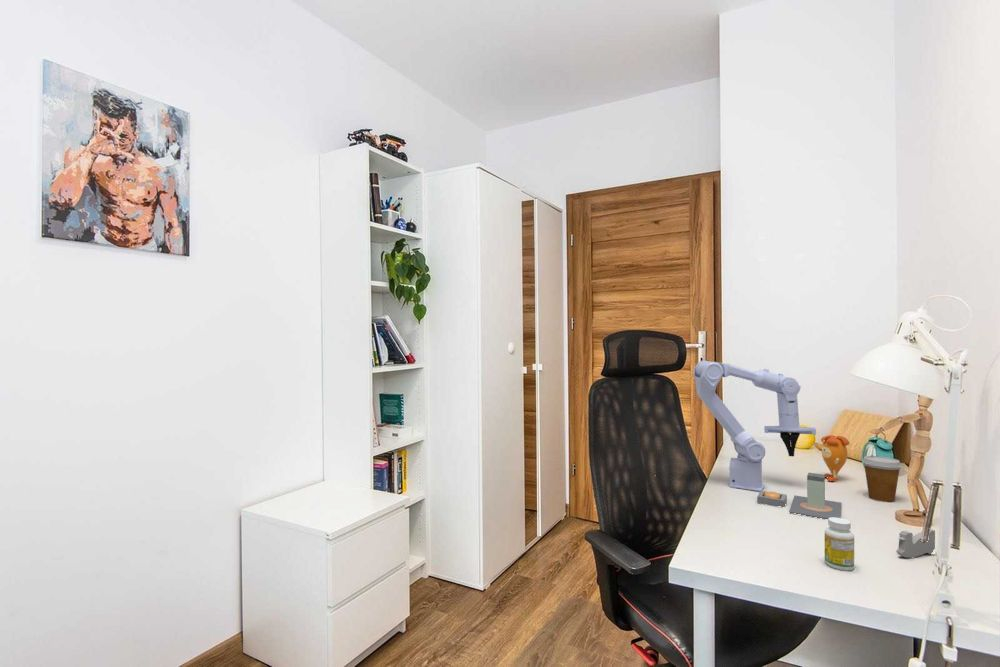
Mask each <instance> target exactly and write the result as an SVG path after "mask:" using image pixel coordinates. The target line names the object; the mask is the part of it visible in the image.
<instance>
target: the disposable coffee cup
mask: <svg viewBox="0 0 1000 667" xmlns="http://www.w3.org/2000/svg"><path fill="white" fill-rule="evenodd" d="M862 463H863V466H864V472H865V478H866V479H865V480H866V485H867V491H868V492H867V493H868V498H870V499H872V500H876V501H879V502H886V503H893V502H895V501H896V494H897V487H898V482H899V477H900V476H899V474H900V471H901V470H900V469H901V468H902V464H901V462H900V460H899V459H896V458H892V457H886V456H879V455H878V456H877V455H866V456H864V457H863V460H862Z"/></svg>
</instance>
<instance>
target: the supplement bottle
mask: <svg viewBox="0 0 1000 667" xmlns="http://www.w3.org/2000/svg"><path fill="white" fill-rule="evenodd" d="M827 525H828V526H827V527H826V528H825V529H824V562H825V564H826V565H827V566H829V567H831V568H833V569H835V570H840V571H853V569H855V535H854V533H853V532H852V531H851V521H849V520H848V519H845V518H842V517H841V518H836V517H830V518H828V520H827Z"/></svg>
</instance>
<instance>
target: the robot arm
mask: <svg viewBox="0 0 1000 667" xmlns="http://www.w3.org/2000/svg"><path fill="white" fill-rule="evenodd" d="M692 374H693V375H692V376H693V377H694V382H695V390H696V394H697V396H698V397H699V399H700V400H701V401H702V403H703V405H705V407H706V408H707V409H708V410H709V412H710V413H711V414H712V415H713V416H714V418H715V419H716V420H717V422H718V423H719V425H720V426H721V427H722V428H723V430H725V432H726V433H727V434H728V435H729V437H730V441H731V442H732V443H733V448H734V450H735V452H736V453H737V457H731V458H730V460H729V485H728V486H729V487H731V488H737V489H744V490H748V491H754V492H755V491H756V492H760V491H763V489H764V488H765V487H766V486H765V484H763V474H762V473H763V472H762V471H763V466H762V465H763V462H762V460H763V459H764V457H765V456H766V448H765V446H764V445H763V443H761V442H760V441H757V440H756V439H755V438H754V437H753V436H752V435H750V433H749V432H747V430H746V429H745V428H744V427H743V426H742V424H741V423H740V422H739V420H737V418H736V416H734V414H733V413H732V412H731V410H729V408H728V407H727V405H726V404H725V403H724V402H723V401H722V399H721V398H720V397H719V395H718V394H717V393H716V392H717V391H716V389H717V386H718V384H719V382H720V381H721V379H722V378H727V377H729V376H731V377H735V378H739V379H743V380H747V381H751V382H752V384H753V386H754V387H757V388H760V389H764V390H767V391H771V392H775V393H776V398H777V401H776V402H777V410H778V412H777V413H778V423H779V424H778V425H764V427H763V431H764V433H765V434H766V433H767V434H771V433H772V434H773V433H774V434H780V435H779V436H780V439H781V440H782V441H783V444H784V446H785V448H786V450H787V452H788V457H795V449H796V447H797V443H798V440H799V437H800V436H801V435H813V436H816V435H817V428H816V427H810V426H809V427H807V426H800V417H799V403H798V402H799V401H798V394H799V393H800V391H801V385H800V384H799V381H797V379H795V378H793V377H788V376H784V374H783V373H774V372H772V371H771V372H770V370H769V369H766V368H763V369H758V370H756V371H753V370H750V369H746V368H743V367H739V366H737V365H733V364H731V363H724V362H717V361H708V360H700V361H699V362H697V364H696V365H695V367H694V370H693V373H692Z"/></svg>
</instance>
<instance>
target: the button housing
mask: <svg viewBox="0 0 1000 667" xmlns="http://www.w3.org/2000/svg"><path fill="white" fill-rule="evenodd" d="M765 492H768V491H766V490H762V491H759V492H758V495H757V500H756V501H757V504H759V503H761V504H760V505H765V504H767V505H766V506H771V505H774V506H773V507H777V506H781V507H780V508H783V507H786V505H787V501H788V495H787V494H786V493H780V492H779V494H780V499H777V498H771V497H765ZM785 504H786V505H785Z"/></svg>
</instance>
